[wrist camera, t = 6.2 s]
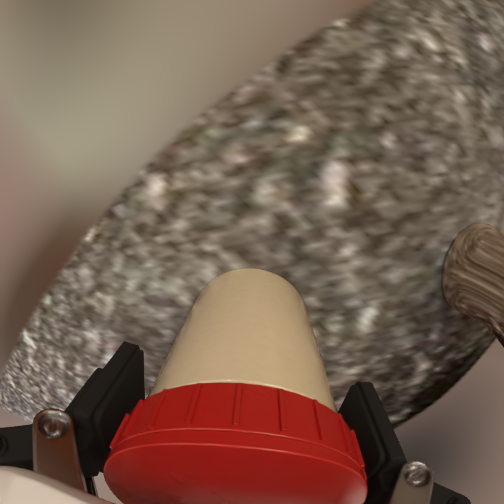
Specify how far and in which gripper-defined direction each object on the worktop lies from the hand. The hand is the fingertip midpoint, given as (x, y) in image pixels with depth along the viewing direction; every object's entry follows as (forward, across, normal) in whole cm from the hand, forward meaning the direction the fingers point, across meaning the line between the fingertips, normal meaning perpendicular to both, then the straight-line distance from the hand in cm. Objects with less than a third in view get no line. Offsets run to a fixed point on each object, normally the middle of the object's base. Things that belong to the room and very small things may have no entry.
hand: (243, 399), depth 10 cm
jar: (+6, 0, 0) cm, 6 cm away
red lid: (-4, 0, 0) cm, 4 cm away
